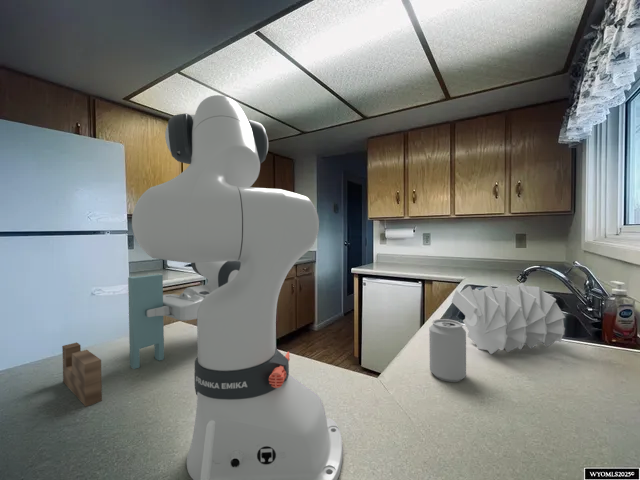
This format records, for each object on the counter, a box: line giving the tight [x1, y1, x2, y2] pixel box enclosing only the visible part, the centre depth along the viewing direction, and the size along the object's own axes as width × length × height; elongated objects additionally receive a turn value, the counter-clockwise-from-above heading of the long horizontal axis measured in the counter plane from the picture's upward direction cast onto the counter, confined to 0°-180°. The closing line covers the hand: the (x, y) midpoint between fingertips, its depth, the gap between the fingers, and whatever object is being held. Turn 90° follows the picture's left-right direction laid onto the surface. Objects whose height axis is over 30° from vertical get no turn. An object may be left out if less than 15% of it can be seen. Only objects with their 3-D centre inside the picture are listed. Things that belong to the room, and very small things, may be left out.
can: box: [428, 318, 467, 383], centre depth 64 cm, size 8×8×12 cm
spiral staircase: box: [450, 282, 566, 355], centre depth 79 cm, size 18×18×25 cm
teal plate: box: [127, 273, 165, 370], centre depth 72 cm, size 2×7×22 cm, turn 143°
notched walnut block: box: [61, 342, 103, 408], centre depth 59 cm, size 16×2×8 cm, turn 53°
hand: (142, 312), depth 71 cm, fingers closed on teal plate, 2 cm apart
